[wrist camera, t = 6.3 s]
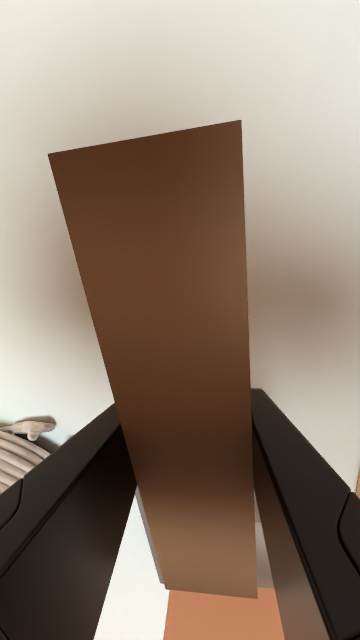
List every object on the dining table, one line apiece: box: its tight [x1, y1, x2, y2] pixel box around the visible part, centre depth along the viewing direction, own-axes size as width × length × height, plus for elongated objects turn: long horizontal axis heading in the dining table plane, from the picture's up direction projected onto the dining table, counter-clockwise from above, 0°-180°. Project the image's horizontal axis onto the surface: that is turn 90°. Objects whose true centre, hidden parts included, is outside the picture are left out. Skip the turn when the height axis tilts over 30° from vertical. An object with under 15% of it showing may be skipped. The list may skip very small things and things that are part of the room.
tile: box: [163, 587, 285, 640], centre depth 18 cm, size 7×2×9 cm, turn 98°
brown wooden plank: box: [48, 120, 274, 599], centre depth 9 cm, size 16×5×3 cm, turn 8°
